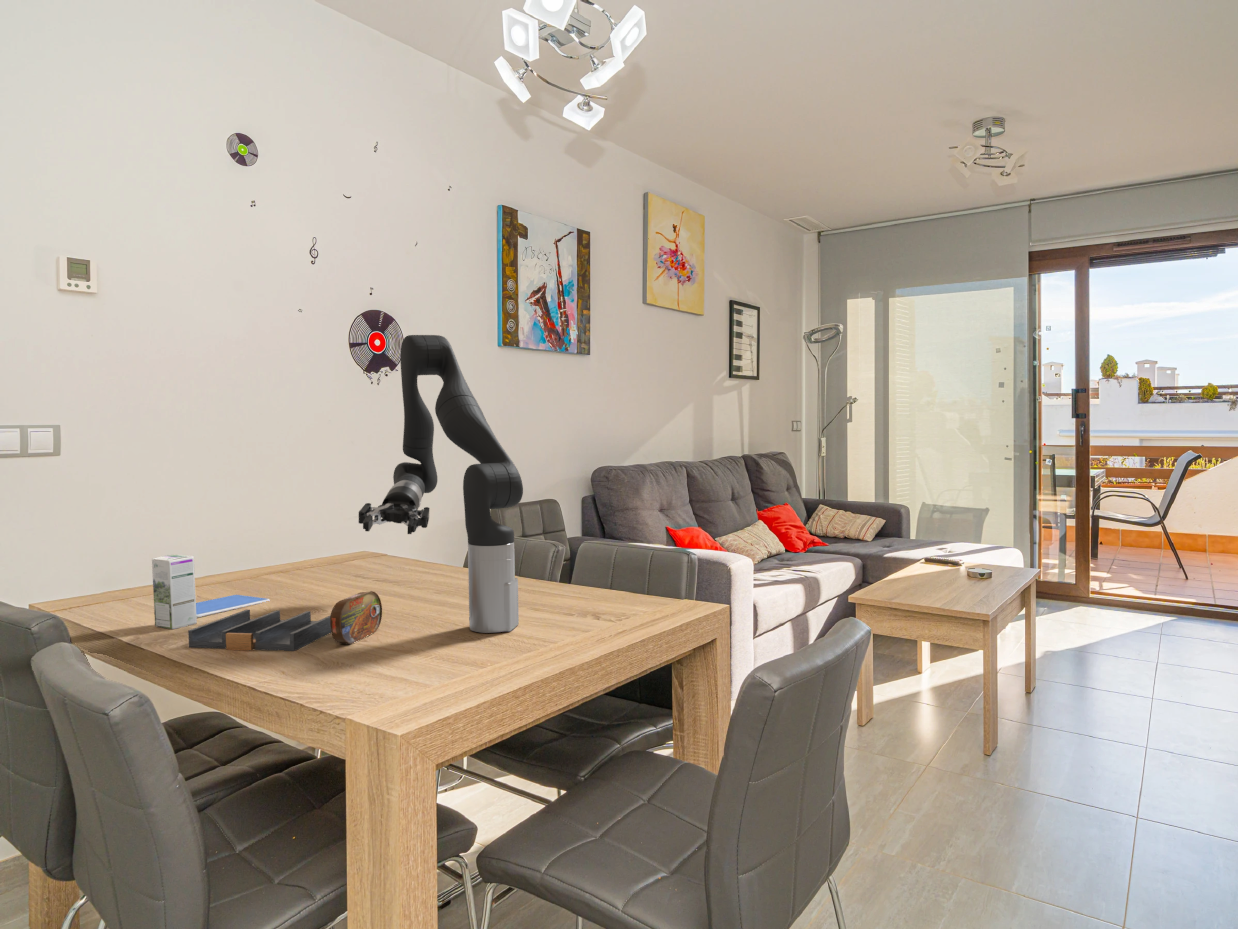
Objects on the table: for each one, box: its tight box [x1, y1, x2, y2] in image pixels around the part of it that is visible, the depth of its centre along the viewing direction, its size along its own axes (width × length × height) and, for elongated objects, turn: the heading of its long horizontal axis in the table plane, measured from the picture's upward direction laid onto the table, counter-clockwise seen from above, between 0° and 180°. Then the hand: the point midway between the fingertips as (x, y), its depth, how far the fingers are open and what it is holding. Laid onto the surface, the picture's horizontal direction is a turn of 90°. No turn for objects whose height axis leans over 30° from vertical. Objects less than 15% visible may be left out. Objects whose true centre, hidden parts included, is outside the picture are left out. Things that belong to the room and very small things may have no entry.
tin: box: [329, 590, 383, 645], centre depth 146 cm, size 15×3×8 cm, turn 168°
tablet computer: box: [196, 594, 271, 619], centre depth 175 cm, size 19×13×1 cm, turn 154°
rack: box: [187, 609, 332, 652], centre depth 147 cm, size 21×18×3 cm
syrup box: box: [151, 554, 198, 630], centre depth 157 cm, size 6×6×14 cm
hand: (388, 528), depth 156 cm, fingers open, 8 cm apart
